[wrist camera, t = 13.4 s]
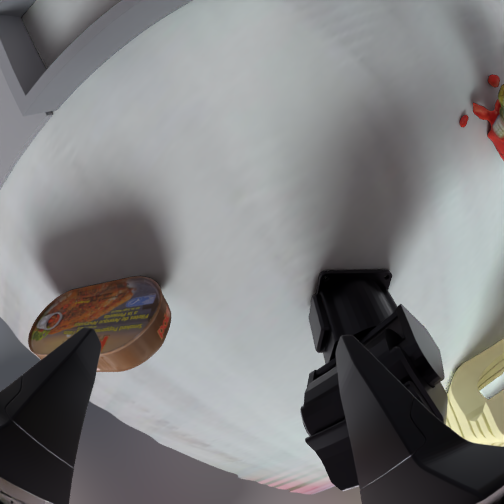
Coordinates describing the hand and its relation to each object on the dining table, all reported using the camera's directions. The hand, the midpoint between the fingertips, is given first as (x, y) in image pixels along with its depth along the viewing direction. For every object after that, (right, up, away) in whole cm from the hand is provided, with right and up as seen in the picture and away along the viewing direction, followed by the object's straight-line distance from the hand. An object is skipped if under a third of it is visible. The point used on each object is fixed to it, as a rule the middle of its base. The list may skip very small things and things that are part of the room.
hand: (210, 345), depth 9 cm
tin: (-12, -1, +15) cm, 19 cm away
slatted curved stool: (+41, -18, +24) cm, 50 cm away
